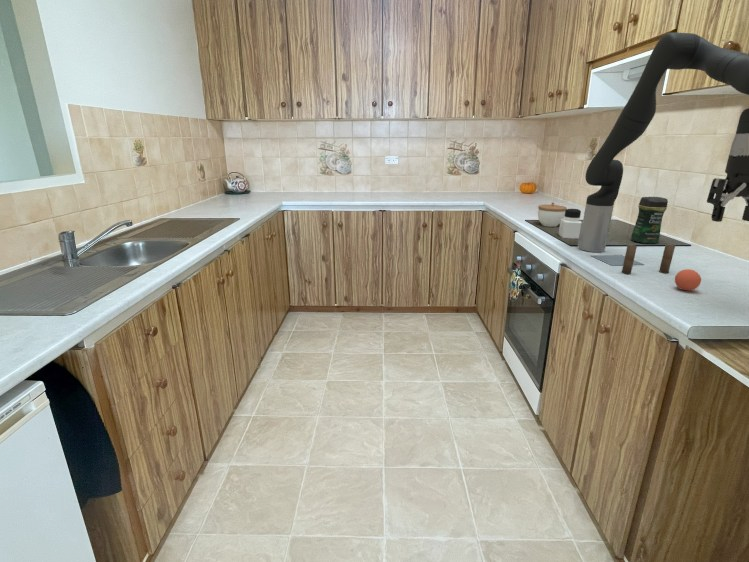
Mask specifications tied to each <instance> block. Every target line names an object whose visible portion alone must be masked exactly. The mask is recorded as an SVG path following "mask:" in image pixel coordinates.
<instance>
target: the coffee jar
mask: <svg viewBox="0 0 749 562" xmlns="http://www.w3.org/2000/svg"><path fill="white" fill-rule="evenodd" d="M668 202H669V201H668V198H665V197H661V196H642V197H641V198H640V201H639V203H638V214H637V218H636V221H635V224H634V227H633V230H632V233H631V236H630V239H631V241H633V242H634V241H636V242H635V243H639V242H642V243H641V244H647V243H648V244H652V243H653V244H656V243H655V242H658V243H659V242H660V241H659V240H660V237H661V236H660V235H661V230H662V222H663V217H664V214H665V211H667V208H668Z"/></svg>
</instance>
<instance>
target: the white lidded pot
mask: <svg viewBox="0 0 749 562" xmlns="http://www.w3.org/2000/svg"><path fill="white" fill-rule="evenodd" d="M537 209H538V210H537V218H538V222H540V224H541V226H543V227H549V228H556V227H558V226H560V221H561V219H565V218H564V216H565V210H566V209H568V208H567V207H566V206H564V205H560V204H559V205H558V204H555V202H554V201H553V202H551V204H539V205H538V208H537Z"/></svg>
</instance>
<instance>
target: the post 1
mask: <svg viewBox="0 0 749 562" xmlns="http://www.w3.org/2000/svg"><path fill="white" fill-rule="evenodd" d="M637 248H638V246H637V245H635V244H627V245H626V250H625V254H624V256H625V259H624V263H623V265H622V268H621V273H622V274H623V273H624V274H625V275H631V274H632V270H633V267H634V265H633V262H634V260H635V256H636V252H637Z"/></svg>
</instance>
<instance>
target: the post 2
mask: <svg viewBox="0 0 749 562" xmlns="http://www.w3.org/2000/svg"><path fill="white" fill-rule="evenodd" d="M675 248H676V245H675V244H671V243H666V244H665V246H664V250H663V253H662V258H661V262H660V266H659V270H658V272H659V273H662V274H669V272H670V269H671V265H672V261H673V256H674V252H675Z"/></svg>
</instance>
